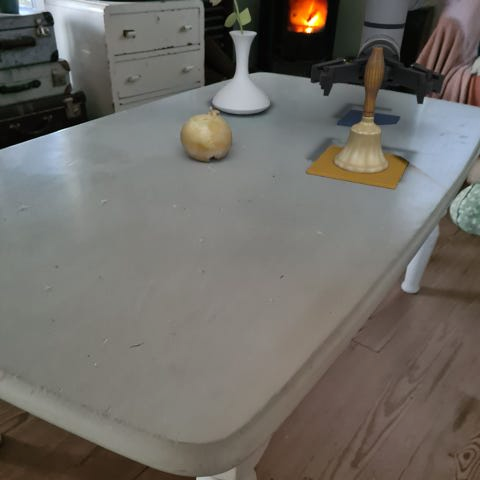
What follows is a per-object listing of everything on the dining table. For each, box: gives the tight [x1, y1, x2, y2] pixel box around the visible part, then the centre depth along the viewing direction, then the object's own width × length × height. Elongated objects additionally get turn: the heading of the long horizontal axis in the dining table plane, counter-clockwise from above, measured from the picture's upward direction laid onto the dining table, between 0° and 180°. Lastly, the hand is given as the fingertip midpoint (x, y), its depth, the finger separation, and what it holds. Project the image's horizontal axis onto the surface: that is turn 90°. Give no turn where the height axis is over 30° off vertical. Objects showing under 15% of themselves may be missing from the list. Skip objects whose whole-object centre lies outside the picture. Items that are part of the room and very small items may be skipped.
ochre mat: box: [306, 144, 410, 190], centre depth 79 cm, size 13×13×1 cm
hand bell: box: [333, 46, 389, 173], centre depth 74 cm, size 8×8×16 cm
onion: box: [179, 105, 233, 163], centre depth 79 cm, size 8×8×7 cm
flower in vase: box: [209, 0, 271, 115], centre depth 95 cm, size 13×11×25 cm
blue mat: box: [336, 108, 401, 128], centre depth 99 cm, size 10×10×1 cm
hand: (373, 90), depth 75 cm, fingers open, 13 cm apart
